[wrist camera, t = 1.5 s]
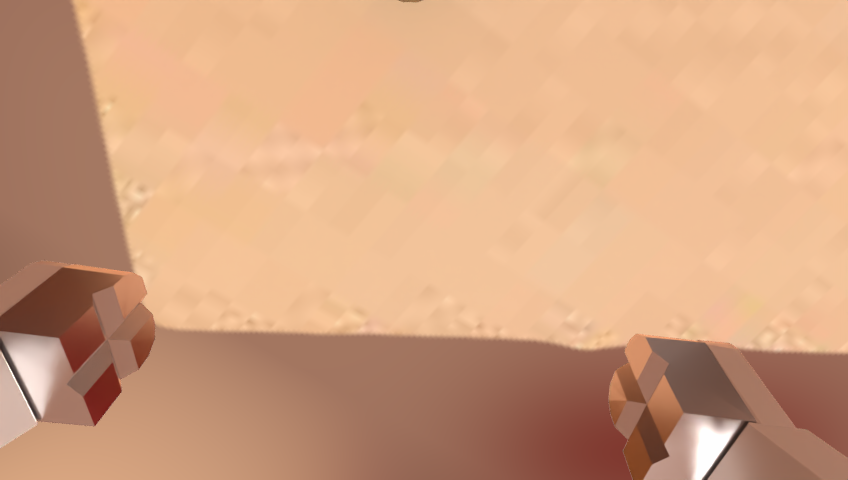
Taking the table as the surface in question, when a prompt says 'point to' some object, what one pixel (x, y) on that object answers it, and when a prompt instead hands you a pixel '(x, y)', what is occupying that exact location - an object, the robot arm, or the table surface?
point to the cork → (410, 0)
